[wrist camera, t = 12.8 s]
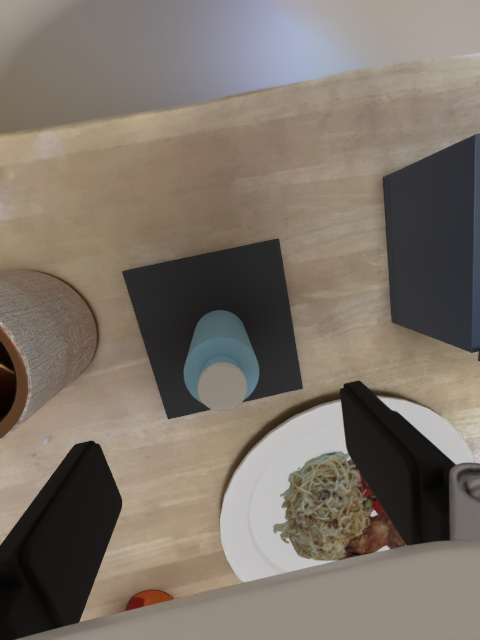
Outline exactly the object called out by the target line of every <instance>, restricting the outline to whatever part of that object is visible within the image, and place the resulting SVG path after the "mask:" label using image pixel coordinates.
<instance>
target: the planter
mask: <svg viewBox="0 0 480 640" xmlns="http://www.w3.org/2000/svg"><path fill="white" fill-rule="evenodd" d="M96 344H97V329H96V324H95V321H94V318H93V315H92V313H91V311H90V309H89V307H88V306H87V304H86V303H85V301H84V300H83V299H82V298H81V296H80V295H79V294H78V293H77V292H76V291H75V290H73V289H72V288H71V287H70V286H68V285H67V284H65V283H64V282H62V281H61V280H59V279H57V278H55V277H52V276H50V275H47V274H44V273H40V272H35V271H28V270H6V271H0V441H1V440H3V439H4V438H5V437H7V436H8V435H9V434H11V433H12V432H13V431H14V430H15V429H16V428H18V427H19V426H20V425H21V424H22V423H23V422H25V421H26V420H27V419H28V418H29V417H30V416H32V415H33V414H34V413H35V412H36V411H37V410H39V409H40V408H41V407H42V406H43V405H45V404H46V403H47V402H48V401H49V400H50V399H52V398H53V397H54V396H55V395H57V394H58V393H59V392H60V391H61V390H63V389H64V388H65V387H66V386H67V385H69V384H70V383H71V382H72V381H73V380H74V379H76V378H77V377H78V376H79V375H80V374H81V373H82V372H83V371H84V370H85V369H86V367H87V366H88V364H89V363H90V361H91V359H92V357H93V355H94V352H95V349H96Z"/></svg>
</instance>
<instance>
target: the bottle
mask: <svg viewBox="0 0 480 640" xmlns="http://www.w3.org/2000/svg"><path fill="white" fill-rule="evenodd" d="M258 379H259V365H258V361H257V359H256V356H255V353H254V351H253V348H252V346H251V343H250V340H249V338H248V335H247V333H246V330H245V327H244V325H243V323H242V321H241V320H240V319H239V318H238V317H237V316H236V315H235V314H233V313H231V312H228V311H224V310H216V311H212V312H209V313H207V314H206V315H204V316H203V317H202V318H201V319H200V320H199V322H198V323H197V325H196V328H195V331H194V335H193V338H192V342H191V345H190V349H189V352H188V356H187V359H186V362H185V366H184V380H185V384H186V387H187V388H188V390H189V392H190V393H191V395H192V396H193V397H194V398H196V399H197V400H198V401H200V402H201V403H203V404H204V405H206V406H207V407H208V408H210V409H212V410H216V411H228V410H231V409H233V408H235V407H237V406H238V405H239V404H240V403H241V402H242V401H244V400H245V399H246V398H247V397H248V396H249V395H250V394H251V393H252V392H253V390H254V389H255V387H256V385H257V382H258Z"/></svg>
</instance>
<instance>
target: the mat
mask: <svg viewBox="0 0 480 640" xmlns="http://www.w3.org/2000/svg"><path fill="white" fill-rule="evenodd" d="M122 273H123V276H124V279H125V282H126V285H127V289H128V292H129V295H130V298H131V302H132V305H133V308H134V311H135V314H136V318H137V321H138V324H139V327H140V331H141V334H142V337H143V340H144V343H145V347H146V350H147V353H148V356H149V360H150V363H151V366H152V369H153V372H154V376H155V379H156V382H157V385H158V389H159V392H160V395H161V398H162V401H163V405H164V408H165V411H166V414H167V417H168V419H172V418H176V417H180V416H185V415H189V414H193V413H198V412H202V411H206V410H211V409H210V408H208V407H207V406H206V405H204V404H203V403H201V402H200V401H198V400H197V399H196V398H194V397H193V396H192V395H191V393H190V392H189V390H188V388H187V387H186V384H185V380H184V366H185V362H186V359H187V356H188V352H189V349H190V345H191V342H192V338H193V335H194V331H195V328H196V325H197V323H198V322H199V320H200V319H201V318H202V317H203V316H204V315H206V314H207V313H209V312H212V311H216V310H224V311H228V312H231V313H233V314H235V315H236V316H237V317H238V318H239V319H240V320H241V321H242V323H243V325H244V327H245V330H246V333H247V335H248V338H249V340H250V343H251V346H252V348H253V351H254V353H255V356H256V359H257V361H258V365H259V379H258V382H257V385H256V387H255V389H254V390H253V392H252V393H251V394H250V395H249V396H248V397H247V398H246V399H245V400H244V401H242V402H246V401H250V400H254V399H259V398H263V397H267V396H272V395H276V394H280V393H285V392H289V391H293V390H298V389H302V388H303V387H302V381H301V375H300V368H299V362H298V356H297V350H296V343H295V337H294V331H293V325H292V318H291V312H290V306H289V300H288V293H287V287H286V281H285V275H284V268H283V262H282V256H281V250H280V243H279V239H274V240H269V241H264V242H260V243H255V244H250V245H245V246H241V247H236V248H231V249H226V250H222V251H217V252H212V253H207V254H202V255H198V256H193V257H188V258H183V259H179V260H174V261H169V262H164V263H160V264H155V265H150V266H145V267H141V268H136V269H131V270H126V271H122Z"/></svg>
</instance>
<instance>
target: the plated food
mask: <svg viewBox="0 0 480 640" xmlns="http://www.w3.org/2000/svg"><path fill="white" fill-rule="evenodd" d="M376 396H377V395H376ZM377 397H378V398H379V399H380V400H381V401H382V402H383V403H384V404H386V405H387V406H388V407H389V408H390V409H391V410H394V411H397V412H398V413H400V414H401V415H402V416H403V417H404V418H405V419H406V420H407V421H408V422H410V423H411V424H412V425H413V426H414V427H415V428H416V429H417V430H418V431H419V432H421V433H422V434H423V435H424V436H425V437H426V438H427V439H428V440H429V441H431V442H432V443H433V444H434V445H435V446H436V447H437V448H438V449H439V450H440V451H442V452H443V453H444V454H445V455H446V456H447V457H448V458H449V459H450V460H452V461H453V462H454V463H455V464H456V465H457V464H460V463H470V462H472V463H475V462H474V458H473V454H472V452H471V450H470V449H469V447H468V445H467V443H466V441H465V439H464V438H463V436H462V435H461V434H460V433H459V432H458V431H457V430H456V429H455V428H454V427H453V426H452V425H451V424H450V422H449V421H447V420H446V419H445V418H443V417H441V416H440V415H438V414H437V413H435V412H433V411H432V410H430V409H429V408H427V407H425V406H422V405H419V404H417V403H414V402H411V401H408V400H405V399H401V398H393V397H385V396H377ZM220 529H221V542H222V545H223V549H224V552H225V555H226V558H227V561H228V562H229V564H230V565H231V567H232V569H233V570H234V572H235V573H236V575H237V577H238V578H239V579H240V580H241V581H242V582H243V583H244V582H249V581H253V580H257V579H261V578H265V577H270V576H274V575H278V574H282V573H287V572H291V571H295V570H300V569H304V568H308V567H312V566H317V565H321V564H325V563H330V562H334V561H338V560H343V559H347V558H351V557H356V556H361V555H365V554H370V553H375V552H380V551H384V550H389V549H394V548H399V547H403V546H406V544H405V543H404V541H403V539H402V538H401V536H400V535H399V533H398V532H397V530H396V528H395V527H394V525H393V524H392V522H391V520H390V519H389V517H388V516H387V514H386V513H385V511H384V509H383V508H382V506H381V505H380V503H379V502H378V500H377V498H376V497H375V495H374V494H373V492H372V491H371V489H370V487H369V486H368V484H367V483H366V481H365V480H364V478H363V476H362V475H361V473H360V472H359V470H358V469H357V467H356V465H355V464H354V462H353V461H352V459H351V458H350V456H349V454H348V451H347V448H346V441H345V433H344V424H343V415H342V406H341V399H339V400H335V401H331V402H327V403H323V404H319V405H317V406H315V407H312V408H310V409H308V410H306V411H303V412H301V413H299V414H297V415H294V416H292V417H291V418H289V419H288V420H286V421H285V422H283V423H282V424H280V425H279V426H277V427H276V428H274V429H273V430H271V431H270V432H269V433H268V434H267V435H265V436H264V437H263V438H262V439H261V440H260V441H259V442H258V443H257V444H256V445H255V446H254V447H253V448H252V449H251V450H250V451H249V452H248V453H247V455H246V456H245V458H244V459H243V460H242V462H241V463H240V465H239V466H238V467H237V469H236V470H235V472H234V474H233V476H232V478H231V480H230V483H229V485H228V487H227V489H226V492H225V494H224V498H223V503H222V509H221V514H220Z"/></svg>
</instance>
